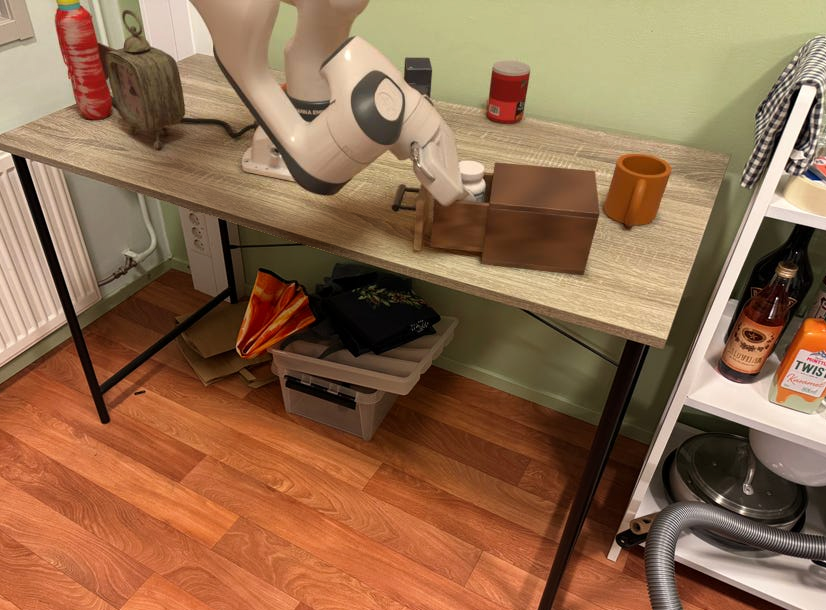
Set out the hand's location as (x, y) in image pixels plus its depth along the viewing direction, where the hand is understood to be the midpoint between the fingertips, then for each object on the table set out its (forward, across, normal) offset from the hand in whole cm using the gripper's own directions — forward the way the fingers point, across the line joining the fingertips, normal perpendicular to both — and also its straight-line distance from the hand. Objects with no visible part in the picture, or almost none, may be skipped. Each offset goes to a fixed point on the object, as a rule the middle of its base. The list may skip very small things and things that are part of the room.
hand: (470, 190), depth 108 cm
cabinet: (+14, -2, -2) cm, 14 cm away
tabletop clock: (-38, +38, +51) cm, 74 cm away
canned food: (+15, +52, -2) cm, 54 cm away
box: (+1, +55, +12) cm, 56 cm away
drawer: (+4, 0, +7) cm, 8 cm away
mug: (+27, +8, -14) cm, 31 cm away
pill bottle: (+4, 0, +5) cm, 6 cm away
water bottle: (-49, +51, +62) cm, 94 cm away
